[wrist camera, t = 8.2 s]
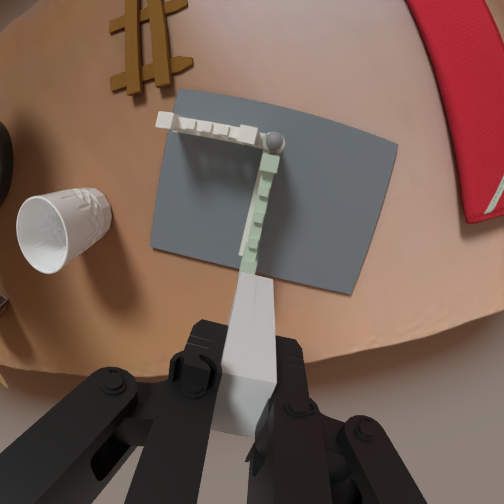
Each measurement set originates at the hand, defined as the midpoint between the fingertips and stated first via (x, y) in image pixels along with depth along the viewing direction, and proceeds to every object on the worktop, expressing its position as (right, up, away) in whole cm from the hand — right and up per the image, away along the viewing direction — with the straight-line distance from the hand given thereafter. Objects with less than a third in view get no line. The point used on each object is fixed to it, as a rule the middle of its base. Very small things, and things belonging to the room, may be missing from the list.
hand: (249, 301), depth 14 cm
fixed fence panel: (-3, +14, +15) cm, 21 cm away
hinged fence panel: (+1, +8, +16) cm, 18 cm away
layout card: (+2, +9, +17) cm, 19 cm away
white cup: (-20, +7, +19) cm, 28 cm away
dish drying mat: (+28, +27, +10) cm, 40 cm away
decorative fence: (-12, +32, +11) cm, 36 cm away
